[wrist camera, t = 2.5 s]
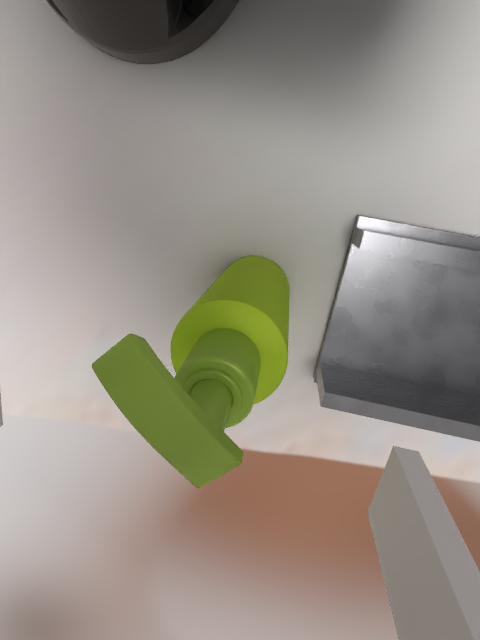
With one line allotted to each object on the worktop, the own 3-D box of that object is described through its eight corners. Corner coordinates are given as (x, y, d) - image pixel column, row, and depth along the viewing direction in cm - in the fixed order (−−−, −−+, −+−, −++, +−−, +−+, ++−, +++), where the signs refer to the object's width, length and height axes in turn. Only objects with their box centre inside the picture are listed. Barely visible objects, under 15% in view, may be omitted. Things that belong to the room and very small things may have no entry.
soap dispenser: (252, 230, 28) (173, 298, 9) (303, 297, 29) (324, 476, 11) (197, 274, 30) (41, 405, 11) (248, 336, 31) (183, 546, 12)
